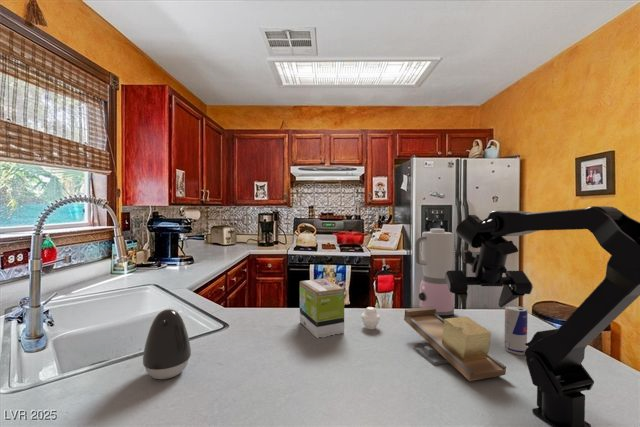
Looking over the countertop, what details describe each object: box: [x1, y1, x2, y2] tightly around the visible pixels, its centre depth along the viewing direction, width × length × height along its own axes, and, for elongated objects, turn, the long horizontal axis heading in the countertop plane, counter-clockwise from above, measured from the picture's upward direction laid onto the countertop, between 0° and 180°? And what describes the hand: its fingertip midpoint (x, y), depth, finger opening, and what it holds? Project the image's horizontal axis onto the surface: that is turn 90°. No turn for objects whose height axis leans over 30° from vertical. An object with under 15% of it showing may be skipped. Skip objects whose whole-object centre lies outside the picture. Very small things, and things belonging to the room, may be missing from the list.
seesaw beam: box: [403, 307, 507, 382], centre depth 84 cm, size 28×10×4 cm, turn 16°
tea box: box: [299, 278, 345, 339], centre depth 103 cm, size 15×10×15 cm, turn 25°
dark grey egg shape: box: [142, 308, 192, 380], centre depth 74 cm, size 10×10×15 cm
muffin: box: [360, 306, 381, 330], centre depth 103 cm, size 6×6×7 cm
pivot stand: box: [415, 345, 451, 366], centre depth 84 cm, size 8×14×2 cm, turn 106°
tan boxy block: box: [442, 316, 492, 363], centre depth 78 cm, size 8×7×7 cm
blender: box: [414, 228, 455, 316], centre depth 118 cm, size 16×12×32 cm
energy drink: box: [503, 304, 528, 356], centre depth 87 cm, size 5×5×12 cm
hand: (481, 305), depth 82 cm, fingers open, 9 cm apart
